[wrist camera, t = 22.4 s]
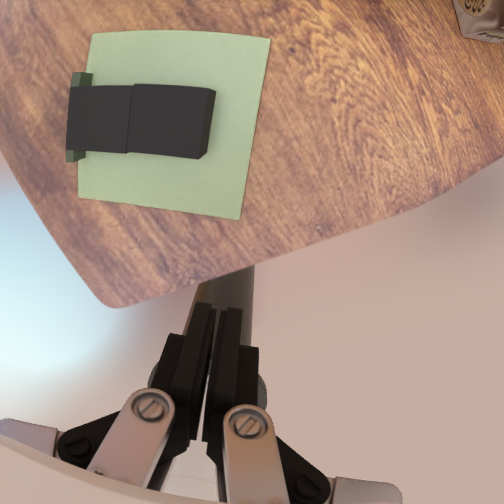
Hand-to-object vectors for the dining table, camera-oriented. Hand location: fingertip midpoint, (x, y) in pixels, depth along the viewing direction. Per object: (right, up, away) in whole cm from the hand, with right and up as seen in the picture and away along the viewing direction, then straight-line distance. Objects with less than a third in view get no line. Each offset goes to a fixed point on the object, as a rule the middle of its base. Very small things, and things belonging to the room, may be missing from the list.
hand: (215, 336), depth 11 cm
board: (-7, +16, +16) cm, 24 cm away
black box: (-6, +15, +15) cm, 23 cm away
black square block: (-12, +16, +15) cm, 25 cm away
